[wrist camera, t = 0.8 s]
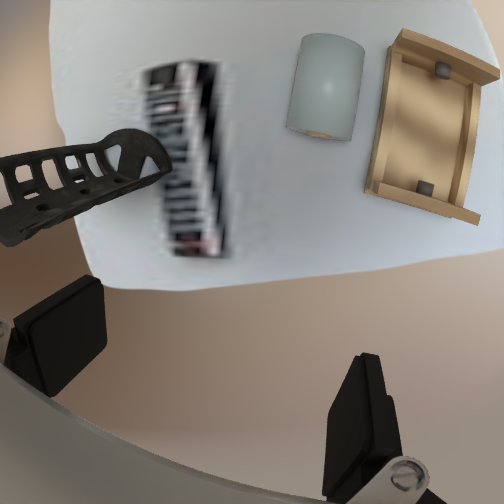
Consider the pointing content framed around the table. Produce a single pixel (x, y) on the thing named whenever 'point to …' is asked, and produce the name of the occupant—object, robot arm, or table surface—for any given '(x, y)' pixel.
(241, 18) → the table surface
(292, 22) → the table surface
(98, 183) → the holder
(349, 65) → the roll
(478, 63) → the cradle
